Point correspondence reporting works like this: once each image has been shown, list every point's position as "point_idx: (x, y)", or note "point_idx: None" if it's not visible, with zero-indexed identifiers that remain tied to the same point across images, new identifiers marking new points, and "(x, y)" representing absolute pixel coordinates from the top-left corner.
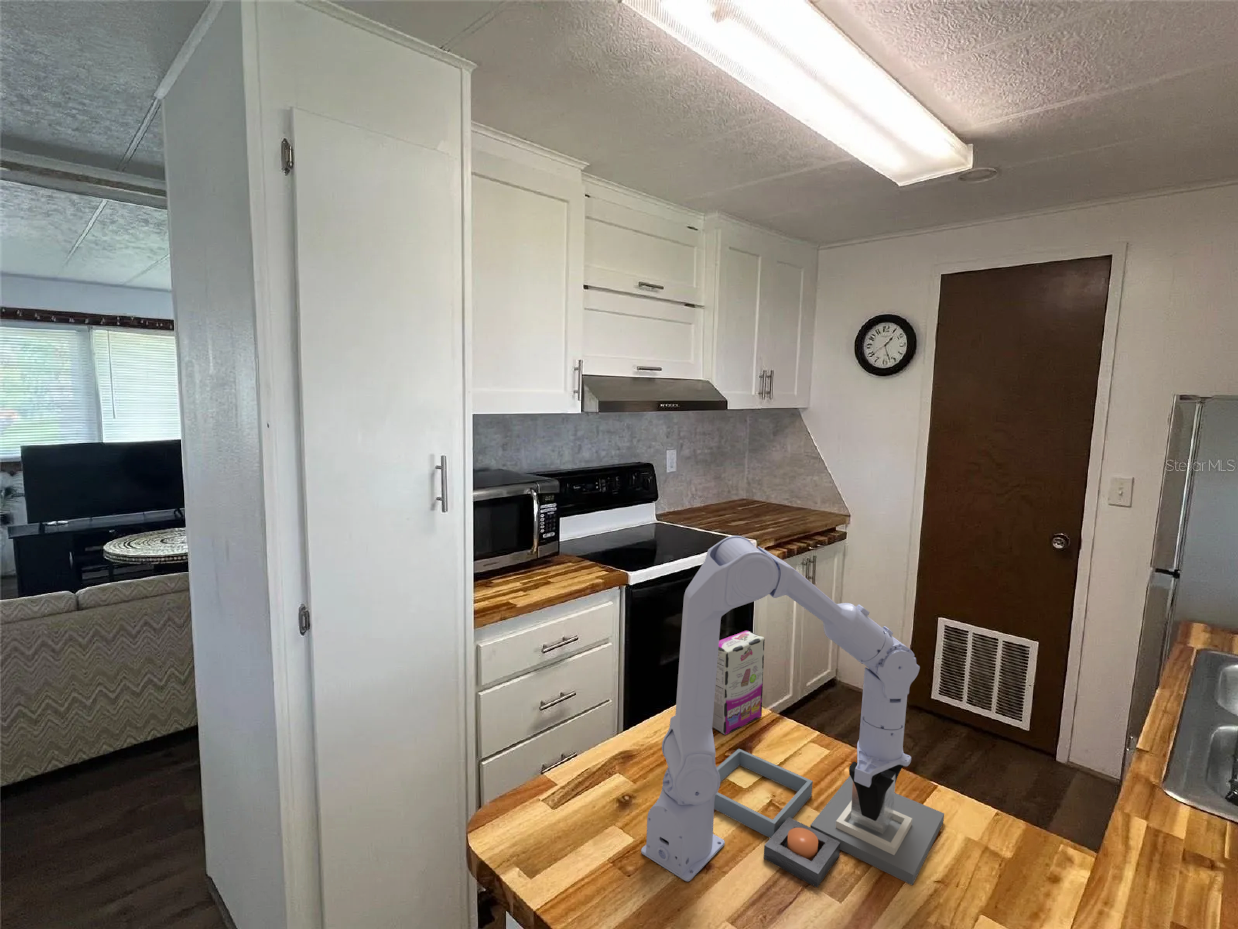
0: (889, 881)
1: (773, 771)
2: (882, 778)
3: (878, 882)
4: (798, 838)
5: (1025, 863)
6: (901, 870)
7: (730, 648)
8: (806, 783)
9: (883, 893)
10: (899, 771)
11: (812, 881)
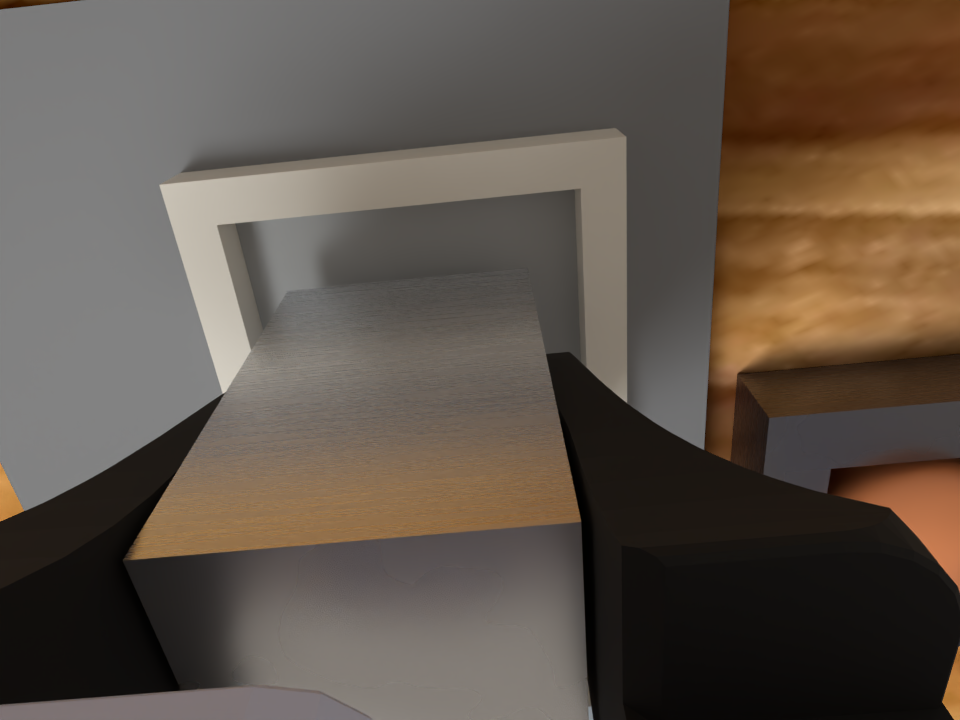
0: (761, 76)
1: None
2: (748, 686)
3: (814, 124)
4: (956, 577)
5: None
6: (727, 26)
7: None
8: None
9: (895, 59)
10: (77, 550)
11: None
